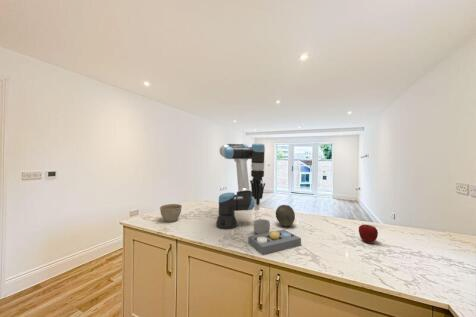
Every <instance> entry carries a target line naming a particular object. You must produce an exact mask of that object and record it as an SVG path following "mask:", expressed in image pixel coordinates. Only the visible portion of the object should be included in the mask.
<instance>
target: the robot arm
mask: <svg viewBox="0 0 476 317" xmlns="http://www.w3.org/2000/svg"><path fill="white" fill-rule="evenodd" d="M265 150H266V148H265V144H264V143H252V144H251V146H249V145H248V144H244V143H227V144H223V145H222V146H221V147H220V148H219V154H220V155H221V156H222V157H224V159H227V160H234V162H235V164H236V166H235V167H236V177H237V178H236V179H237V180H236V181H237V191H236V194H235V193H234V192H224V193H221V194H219V196H218V216H217V219H216V222H215V226H216V228H218V229H222V230H231V229H235V228H237V225H238V223H237V222H238V221H237V219H236V214H235V212H236V211H237V212H238V211H239V212H241V211H243V212H244V211H252V210H253V209H254V211H259V210H260V205H261V199H263V195H264V190H265V186H266V183H265V182H264V181H263V178H264V177H265V152H266V151H265ZM248 160H251V164H250V166H251V169H250V170H251V172H250V176H251V177H252V180H249V173H248V172H249V171H248V162H247V161H248ZM250 187H251V189H250Z"/></svg>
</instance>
